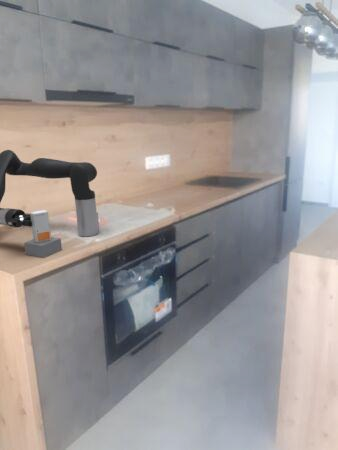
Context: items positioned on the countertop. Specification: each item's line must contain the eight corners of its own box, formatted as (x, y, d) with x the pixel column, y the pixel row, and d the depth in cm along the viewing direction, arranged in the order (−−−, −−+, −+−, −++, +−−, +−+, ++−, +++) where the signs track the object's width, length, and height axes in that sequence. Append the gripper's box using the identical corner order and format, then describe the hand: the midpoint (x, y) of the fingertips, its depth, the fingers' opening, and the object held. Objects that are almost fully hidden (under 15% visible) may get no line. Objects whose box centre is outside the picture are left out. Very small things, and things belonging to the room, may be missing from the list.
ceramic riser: (44, 246, 158) (42, 235, 156) (61, 249, 153) (60, 238, 152) (25, 254, 149) (24, 242, 148) (43, 257, 145) (42, 245, 143)
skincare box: (36, 243, 147) (32, 214, 143) (33, 240, 150) (29, 212, 147) (51, 239, 150) (48, 211, 147) (48, 237, 153) (44, 209, 150)
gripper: (26, 221, 162) (53, 225, 154) (-2, 230, 150) (27, 235, 142) (23, 205, 160) (51, 208, 152) (-5, 212, 147) (24, 216, 140)
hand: (39, 221), depth 147 cm, fingers open, 8 cm apart
